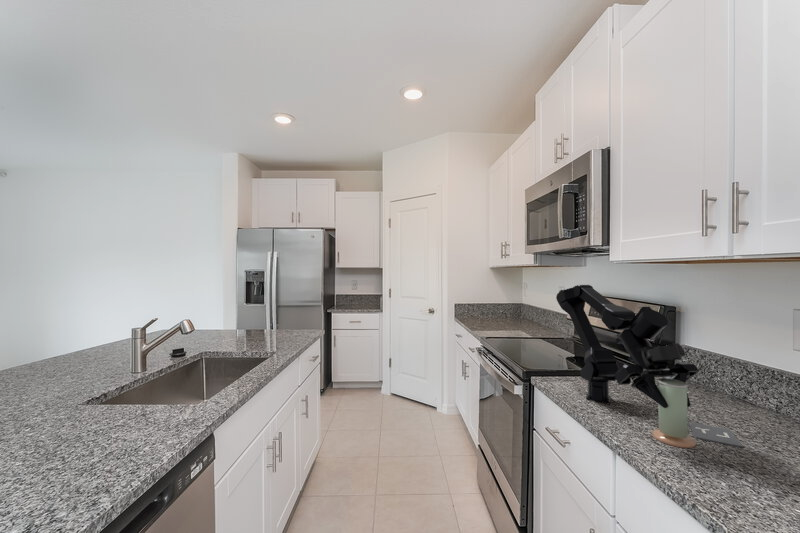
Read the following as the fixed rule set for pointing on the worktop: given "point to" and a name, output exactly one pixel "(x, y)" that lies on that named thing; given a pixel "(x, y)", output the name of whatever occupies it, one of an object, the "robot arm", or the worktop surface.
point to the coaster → (674, 440)
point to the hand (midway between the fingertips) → (677, 406)
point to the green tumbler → (673, 408)
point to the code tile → (714, 434)
